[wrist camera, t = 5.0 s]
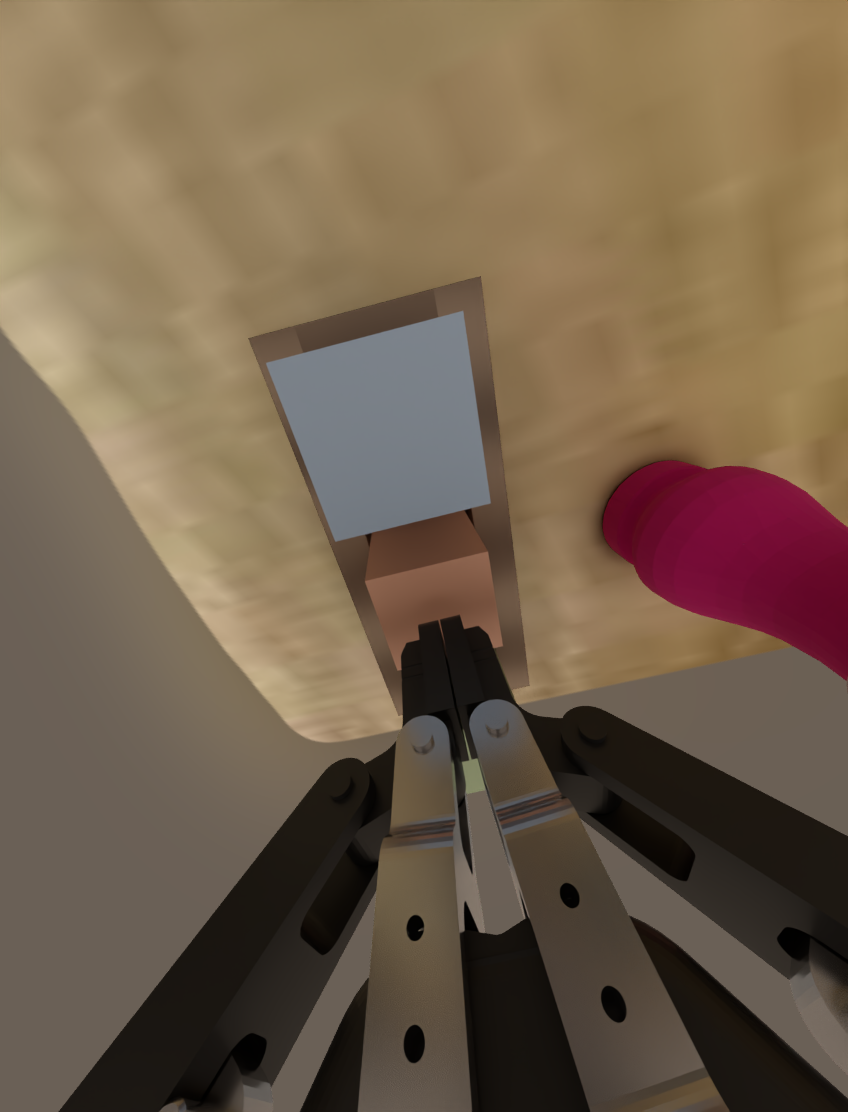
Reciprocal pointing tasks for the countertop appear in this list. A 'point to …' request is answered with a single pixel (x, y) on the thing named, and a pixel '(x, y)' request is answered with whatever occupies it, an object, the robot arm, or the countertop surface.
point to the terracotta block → (430, 579)
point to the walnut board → (493, 516)
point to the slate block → (388, 425)
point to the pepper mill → (738, 551)
